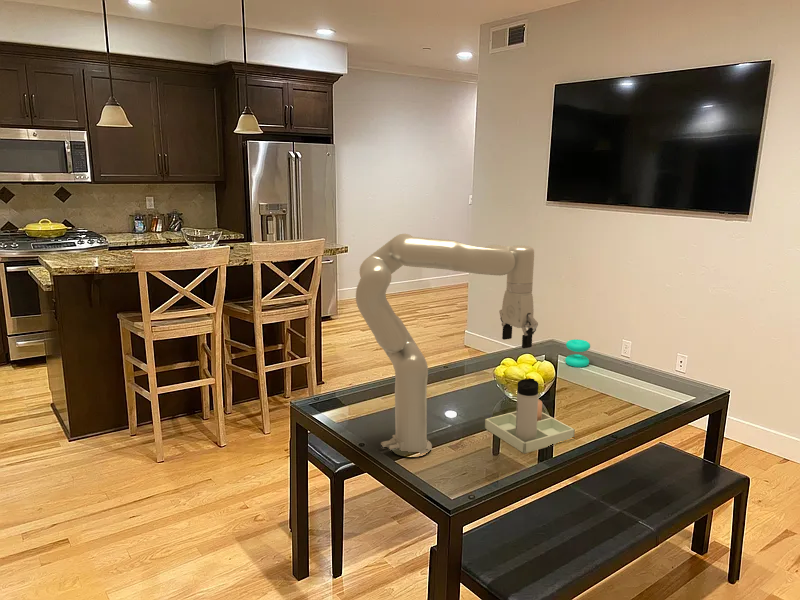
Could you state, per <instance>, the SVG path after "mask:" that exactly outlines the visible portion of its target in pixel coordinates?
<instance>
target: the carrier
mask: <svg viewBox="0 0 800 600" xmlns="http://www.w3.org/2000/svg"><path fill="white" fill-rule="evenodd" d="M516 411H517V410H515V411H512V412H507V413H505V414H500V415H496V416H493V417H488V418H485V419H484V429H485V430H487V431H488V432H490V433H491V434H493V435H495V436H496V437H497V438H499V439H500V440H502V441H504V442H505V443H507V444H508V445H510V447H511V446H512V447H513V448H515V449H516V450H518V451H519V452H521V453H522V454H528V453H532V452H534V451H538V450H541V449H545V448H549V447H551V446H550V445H552V444H555V445H557V444H556V443H558V442H560V441H564V440H567V439H570V438H572V437H574V438H575V428H573V427H572V426H570V425H567V424H565V423H563V422H562V421H560V420H558V419H556V418H554V417H552V416H550V415H549V414H548V413H545V412H543V411H542V420H540V421H537V432H536V439H535V440H532V441H528V442H523V441H522V440H520V439H519V438H517V437H516ZM548 446H549V447H548ZM552 446H553V445H552Z"/></svg>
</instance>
